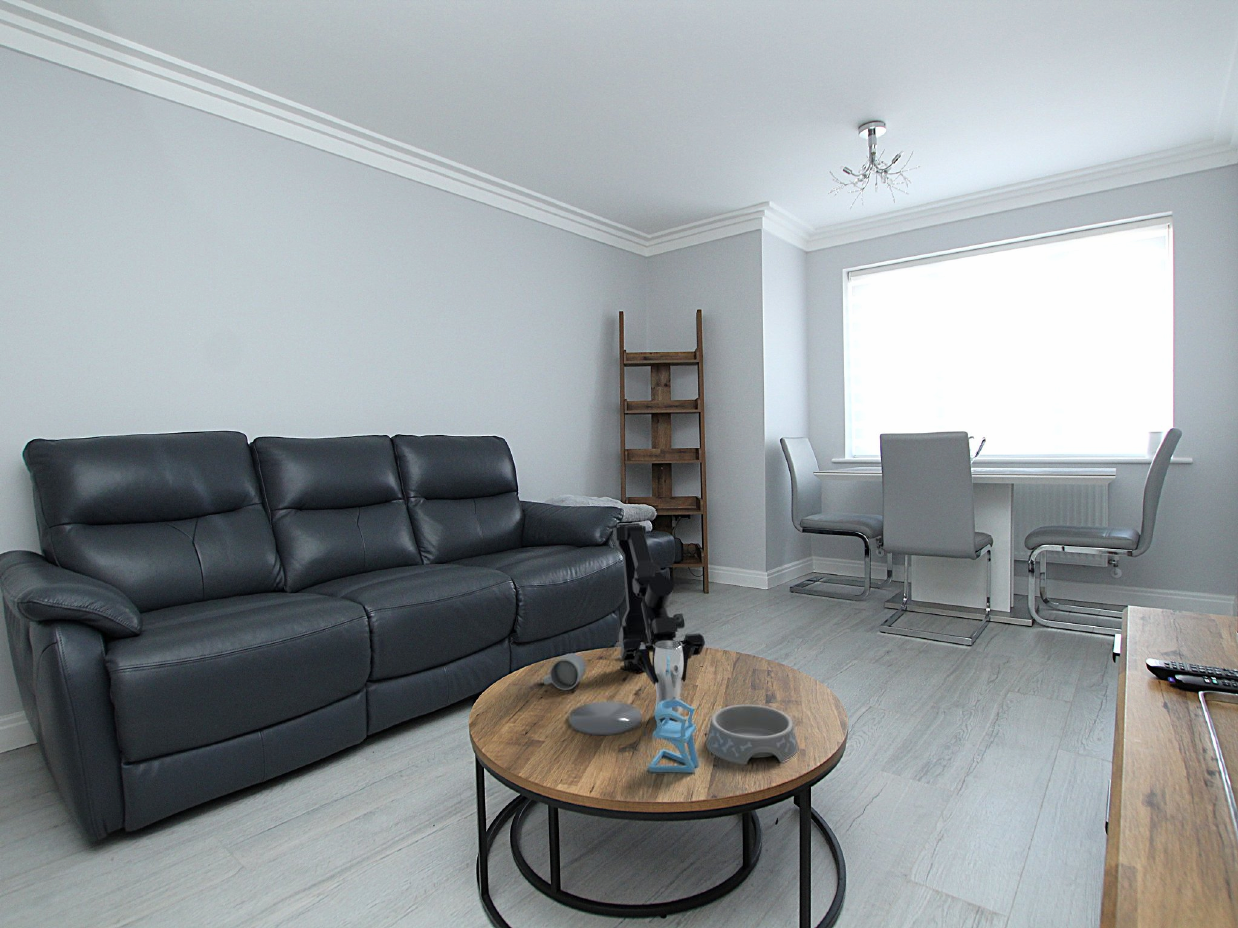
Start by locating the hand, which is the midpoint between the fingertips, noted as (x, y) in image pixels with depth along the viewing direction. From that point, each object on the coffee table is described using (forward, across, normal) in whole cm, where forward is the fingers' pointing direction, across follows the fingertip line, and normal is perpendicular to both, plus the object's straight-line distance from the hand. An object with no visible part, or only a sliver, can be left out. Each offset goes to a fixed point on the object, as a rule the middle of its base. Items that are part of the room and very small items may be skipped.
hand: (669, 682), depth 150 cm
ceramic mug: (-13, -20, +26) cm, 35 cm away
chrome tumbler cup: (+4, 0, +6) cm, 7 cm away
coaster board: (+4, -14, +8) cm, 17 cm away
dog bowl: (+17, +13, -5) cm, 22 cm away
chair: (+21, -5, -9) cm, 23 cm away
